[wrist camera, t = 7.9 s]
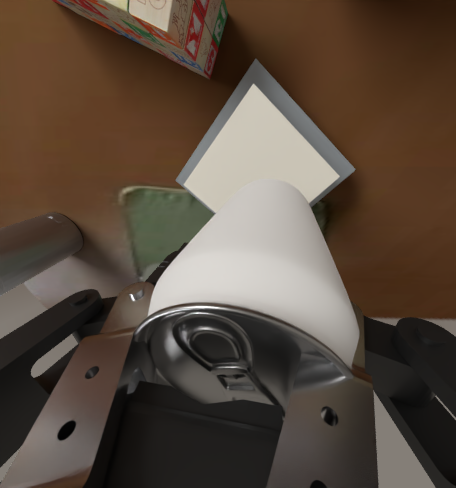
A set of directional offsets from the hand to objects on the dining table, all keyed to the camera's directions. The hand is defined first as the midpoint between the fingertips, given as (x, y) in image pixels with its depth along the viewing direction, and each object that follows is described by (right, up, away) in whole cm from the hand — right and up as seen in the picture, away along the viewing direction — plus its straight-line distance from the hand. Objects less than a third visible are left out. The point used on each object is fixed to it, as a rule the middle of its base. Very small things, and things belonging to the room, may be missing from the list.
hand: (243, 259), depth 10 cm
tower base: (+4, +11, +18) cm, 21 cm away
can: (+2, +3, +5) cm, 6 cm away
